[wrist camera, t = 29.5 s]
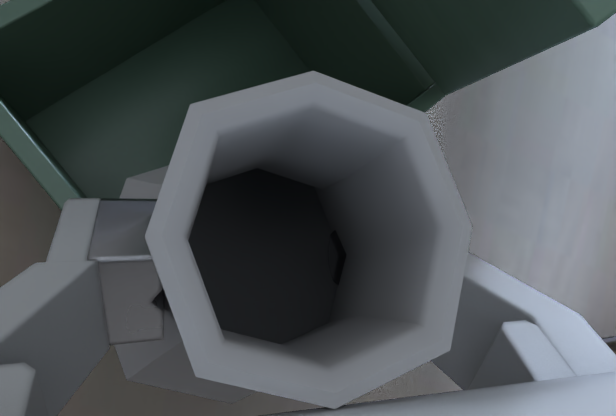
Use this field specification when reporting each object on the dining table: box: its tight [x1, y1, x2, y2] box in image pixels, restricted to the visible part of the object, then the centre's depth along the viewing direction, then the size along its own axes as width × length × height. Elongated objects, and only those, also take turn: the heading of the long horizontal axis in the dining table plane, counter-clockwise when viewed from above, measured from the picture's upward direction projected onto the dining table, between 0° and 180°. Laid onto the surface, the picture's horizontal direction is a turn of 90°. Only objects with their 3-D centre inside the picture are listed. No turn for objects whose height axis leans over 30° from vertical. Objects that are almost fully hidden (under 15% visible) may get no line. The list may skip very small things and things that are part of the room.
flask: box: [114, 71, 473, 409], centre depth 9 cm, size 7×7×10 cm
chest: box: [0, 0, 445, 211], centre depth 25 cm, size 17×14×9 cm
